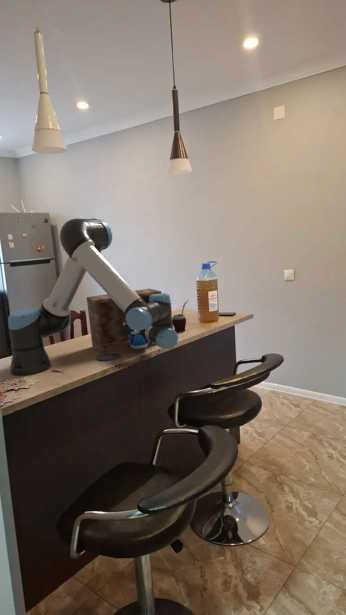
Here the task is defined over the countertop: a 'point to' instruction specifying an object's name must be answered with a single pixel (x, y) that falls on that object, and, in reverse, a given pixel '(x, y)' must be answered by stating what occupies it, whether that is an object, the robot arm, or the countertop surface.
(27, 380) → the countertop surface
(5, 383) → the countertop surface
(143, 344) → the beer can
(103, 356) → the coaster
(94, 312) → the cubby
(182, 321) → the mate gourd
